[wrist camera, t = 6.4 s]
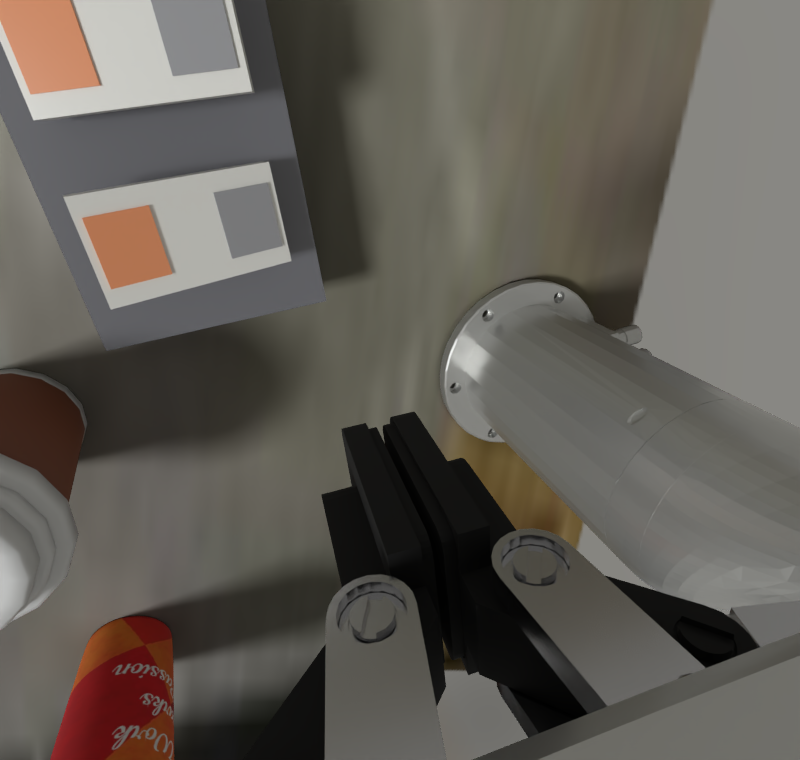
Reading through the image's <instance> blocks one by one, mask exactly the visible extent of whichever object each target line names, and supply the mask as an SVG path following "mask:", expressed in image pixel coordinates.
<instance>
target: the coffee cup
mask: <svg viewBox="0 0 800 760" xmlns="http://www.w3.org/2000/svg"><path fill="white" fill-rule="evenodd" d="M86 427H87V420H86V417H85V413H84V409H83V406H82V404H81V402H80V401H79V400H78V399H77V398H76V397H75V395H74V394H73V393H72V392H71V391H70V390H69V389H68V387H66V386H65V385H63V384H61V383H59V382H57V381H55V380H54V379H52V378H50V377H48V376H46V375H45V374H41V373H36V372H31V371H26V370H21V369H16V368H14V369H3V370H0V630H1V629H3V628H5V627H6V626H7V625H8V624H9V623H10V622H11V621H13V620H15V619H17V618H19V617H21V616H23V615H25V614H27V613H28V612H30V611H32V610H34V609H36V608H38V607H39V606H40V605H41V604H42V603H43V602H44V601H45V600H46V599H47V598H48V597H49V596H50V594H51V593H52V592H53V591H54V590H55V589H56V588H57V587H58V586H59V585H60V584H61V582H62V581H63V580H64V579H65V578H66V577H67V575H68V571H69V568H70V565H71V561H72V557H73V553H74V550H75V546H76V542H77V538H78V534H79V533H78V530H77V527H76V524H75V521H74V518H73V515H72V512H71V508H70V505H69V499H70V494H71V490H72V485H73V481H74V476H75V472H76V467H77V463H78V459H79V454H80V450H81V445H82V443H83V439H84V435H85V431H86Z"/></svg>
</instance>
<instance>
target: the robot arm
mask: <svg viewBox="0 0 800 760" xmlns="http://www.w3.org/2000/svg"><path fill="white" fill-rule="evenodd" d="M641 339H642V332H641V330H640V328H639V327H638V326H637V325H630V326H626V327H623V328H619V329H617V330H615V331H612V330H610V329H608V328H606V327H604V326H602V325H600V324H598V323H596V322H594V318H593V315H592V313H591V312H590V310H589V308H588V306H587V304H586V303H585V302H584V301H583V300H582V299H581V298H580V296H579V295H578V294H576V293H575V292H573V291H571V290H570V289H568V288H567V287H564V286H562V285H560V284H557V283H555V282H551V281H546V280H541V279H531V280H521V281H517V282H513V283H509V284H507V285H505V286H503V287H500V288H498V289H496V290H494V291H492V292H491V293H489V294H488V295H486V296H485V297H484V298H482V299H481V300H479V301H478V302H477V303H476V304H475V305H474V306H473V307H472V308H471V309H470V310H469V311H468V312H467V313H466V314H465V315H464V317H463V318H462V319H461V321H460V322H459V323H458V325H457V326H456V327H455V329H454V331H453V333H452V335H451V337H450V339H449V340H448V342H447V345H446V348H445V351H444V354H443V357H442V362H441V369H440V390H441V393H442V397H443V401H444V404H445V406H446V408H447V409H448V411H449V413H450V415H451V416H452V417H453V418H454V420H455V421H456V422H457V423H458V425H460V426H461V427H462V428H463V429H464V430H465V431H466V432H467V433H469V434H471V435H473V436H475V437H477V438H479V439H482V440H485V441H489V442H506V443H507V444H508V445H509V446H510V447H511V448H512V449H513V450H514V451H515V452H516V453H517V454H518V455H519V456H520V458H521V459H522V460H523V461H524V462H525V463H526V464H527V465H528V466H529V467H530V468H531V469H532V470H533V471H534V472H535V473H536V474H537V475H538V476H539V477H540V478H541V479H542V480H543V481H544V482H545V483H546V484H547V485H548V486H549V487H550V488H551V489H552V490H553V491H554V492H555V493H556V494H557V495H558V496H559V498H560V499H561V500H562V501H563V502H564V503H565V504H566V505H567V506H568V507H569V508H570V509H571V510H572V511H573V512H574V513H575V514H576V515H577V516H578V517H579V518H580V519H581V520H582V521H583V522H584V523H585V524H586V525H587V526H588V527H589V528H590V529H591V530H592V531H593V532H594V533H595V534H596V535H597V536H598V538H599V539H600V540H601V541H602V542H603V543H604V544H605V545H606V546H607V547H608V548H609V549H610V550H611V551H612V552H613V553H614V554H615V555H616V556H617V557H618V558H619V559H620V560H621V561H622V562H623V563H624V564H625V565H626V566H627V567H628V568H629V569H630V570H631V571H632V572H633V573H634V574H635V575H636V576H637V577H639V578H640V579H641V580H642V581H643V582H645V583H646V584H647V585H649V586H650V587H652V588H653V589H655V590H656V591H655V590H651V589H648V588H644V587H641V586H638V585H635V584H631V583H628V582H625V581H621V580H617V579H614V578H611V577H608V576H604V575H603V574H602V573H601V572H600V571H599V570H598V569H597V568H596V567H594V566H593V565H592V564H591V563H590V562H589V561H588V560H587V559H586V558H585V557H584V556H583V555H581V554H580V553H579V552H578V551H577V550H576V549H575V548H574V547H573V546H572V545H570V544H569V543H568V542H567V541H565V540H564V539H562V538H561V537H560V536H558V535H555V534H553V533H550V532H548V531H544V530H538V529H520V530H517V531H516V529H515V528H514V526H513V525H512V524H511V522H510V521H509V519H508V518H507V517H506V515H505V514H504V512H503V511H502V510H501V508H500V507H499V506H498V504H497V503H496V501H495V500H494V499H493V497H492V496H491V494H490V493H489V492H488V490H487V489H486V488H485V486H484V485H483V483H482V482H481V481H480V479H479V478H478V476H477V475H476V474H475V472H474V471H473V470H472V468H471V467H470V465H469V464H468V463H467V462H466V460H465V459H463V458H459V459H455V460H451V461H447V460H446V458H445V457H444V455H443V454H442V452H441V451H440V449H439V448H438V446H437V445H436V443H435V442H434V440H433V439H432V437H431V436H430V434H429V433H428V431H427V430H426V428H425V427H424V425H423V424H422V422H421V421H420V419H419V417H418V416H417V414H416V413H415V412H410V413H406V414H402V415H398V416H394V417H391V418H390V424H387V425H383V434H384V441H385V444H384V442H383V440H382V438H381V435H380V433H379V431H378V429H377V428H376V427H375V428H371V429H368V427H367V425H366V423H364V424H360V425H356V426H352V427H347V428H343V429H342V436H343V441H344V447H345V452H346V457H347V463H348V468H349V473H350V479H351V484H352V487H349V488H345V489H341V490H337V491H333V492H330V493H326V494H322V500H323V504H324V509H325V513H326V518H327V522H328V527H329V531H330V536H331V540H332V544H333V549H334V553H335V558H336V562H337V567H338V571H339V576H340V580H341V585H342V588H341V589H340V590H339V591H338V592H337V593H336V594H335V595H334V597H333V599H332V601H331V602H330V604H329V606H328V610H327V615H326V644H325V646H324V647H323V648H322V650H321V651H320V653H319V654H318V655H317V657H316V658H315V660H314V661H313V662H312V664H311V665H310V667H309V668H308V669H307V671H306V672H305V674H304V675H303V676H302V678H301V679H300V680H299V682H298V683H297V685H296V686H295V687H294V689H293V690H292V692H291V693H290V694H289V696H288V697H287V699H286V700H285V701H284V703H283V704H282V706H281V707H280V708H279V710H278V711H277V713H276V714H275V715H274V717H273V718H272V720H271V721H270V722H269V724H268V725H267V726H266V728H265V729H264V731H263V732H262V733H261V735H260V736H259V738H258V739H257V740H256V742H255V743H254V745H253V746H252V747H251V749H250V750H249V752H248V753H247V754H246V756H245V757H244V759H243V760H447V759H446V754H445V749H444V743H443V738H442V733H441V728H440V722H439V717H438V712H437V705H438V703H439V700H440V698H441V696H442V694H443V692H444V690H445V687H446V683H445V675H444V665H443V663H444V662H445V660H444V650H443V641H444V643H445V645H446V648H447V650H448V653H449V655H450V657H451V659H452V660H455V659H457V658H460V657H461V659H462V661H463V663H464V666H465V668H466V670H467V673H468V675H470V674H473V673H476V672H479V674H480V675H482V676H484V677H487V678H489V679H492V680H494V681H496V682H497V687H498V689H499V692H500V694H501V696H502V698H503V700H504V701H505V703H506V704H507V706H508V707H509V709H510V710H511V712H512V713H513V715H514V717H515V718H516V720H517V721H518V723H519V724H520V726H521V727H522V729H523V730H524V732H525V733H526V735H527V736H528V738H526V739H524V740H521V741H519V742H516V743H514V744H511V745H509V746H506V747H504V748H501V749H498V750H496V751H494V752H491V753H488V754H486V755H483V756H481V757H478V758H476V759H473V760H800V428H799V427H797V426H794V425H792V424H791V423H789V422H786V421H784V420H782V419H780V418H778V417H776V416H774V415H772V414H770V413H768V412H766V411H763V410H762V409H760V408H758V407H756V406H754V405H752V404H750V403H747V402H745V401H743V400H741V399H739V398H737V397H735V396H733V395H731V394H729V393H727V392H725V391H723V390H721V389H719V388H717V387H714V386H713V385H711V384H709V383H706V382H705V381H702V380H700V379H698V378H696V377H694V376H692V375H690V374H688V373H686V372H684V371H682V370H680V369H678V368H676V367H674V366H672V365H670V364H668V363H666V362H664V361H662V360H660V359H658V358H656V357H654V356H652V354H651V353H650V352H649V351H648V350H647V349H643V348H641V349H638V348H636V347H634V346H631V345H632V344H636V343H638V342H640V341H641ZM715 609H720V610H730V614H729V615H725V614H724V613H722V612H720V611H717V610H715ZM442 638H443V641H442Z"/></svg>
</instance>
